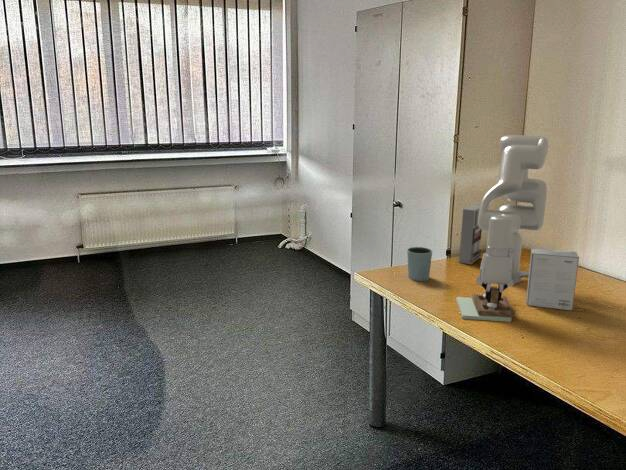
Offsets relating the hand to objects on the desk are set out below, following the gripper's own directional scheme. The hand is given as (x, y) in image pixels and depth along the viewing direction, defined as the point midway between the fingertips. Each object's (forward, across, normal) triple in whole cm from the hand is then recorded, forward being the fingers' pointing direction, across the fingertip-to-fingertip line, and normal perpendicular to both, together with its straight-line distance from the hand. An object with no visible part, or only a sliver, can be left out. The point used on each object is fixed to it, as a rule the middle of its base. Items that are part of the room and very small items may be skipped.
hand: (492, 301), depth 194 cm
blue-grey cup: (+4, +24, -33) cm, 41 cm away
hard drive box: (+4, -22, -10) cm, 24 cm away
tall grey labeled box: (+4, -1, -63) cm, 63 cm away
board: (+4, +3, 0) cm, 5 cm away
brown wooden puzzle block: (+2, 0, 0) cm, 2 cm away
